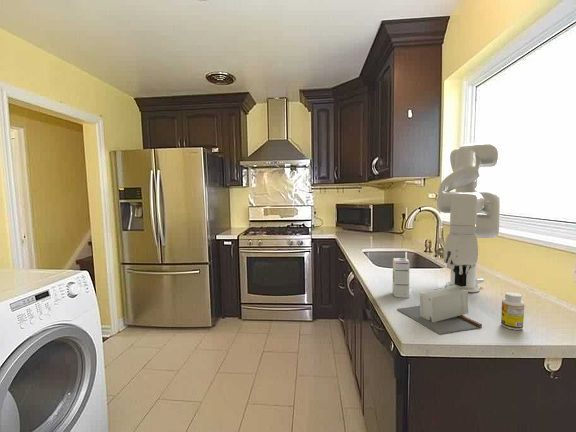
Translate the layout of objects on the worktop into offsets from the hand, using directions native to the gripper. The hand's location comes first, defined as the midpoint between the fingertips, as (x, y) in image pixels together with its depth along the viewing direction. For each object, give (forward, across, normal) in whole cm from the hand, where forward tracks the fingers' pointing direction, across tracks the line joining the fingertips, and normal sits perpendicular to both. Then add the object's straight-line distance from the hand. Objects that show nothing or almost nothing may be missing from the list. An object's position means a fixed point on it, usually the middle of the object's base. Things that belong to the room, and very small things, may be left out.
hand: (460, 285), depth 104 cm
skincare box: (+5, -1, 0) cm, 5 cm away
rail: (+10, +2, 0) cm, 10 cm away
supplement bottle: (+10, -8, +12) cm, 18 cm away
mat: (+10, +10, 0) cm, 14 cm away
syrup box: (+10, +6, -23) cm, 26 cm away
